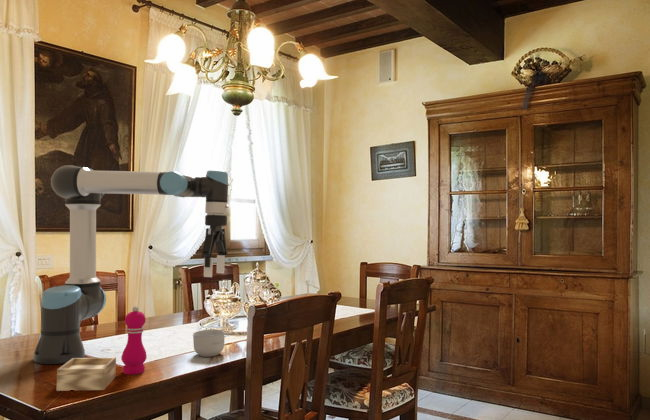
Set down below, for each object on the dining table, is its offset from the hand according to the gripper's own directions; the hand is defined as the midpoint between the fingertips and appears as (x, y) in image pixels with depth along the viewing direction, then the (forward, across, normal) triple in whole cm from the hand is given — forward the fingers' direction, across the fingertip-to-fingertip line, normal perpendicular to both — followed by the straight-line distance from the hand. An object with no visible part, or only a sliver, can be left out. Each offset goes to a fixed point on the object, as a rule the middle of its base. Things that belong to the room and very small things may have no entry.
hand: (214, 275), depth 187 cm
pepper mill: (+28, -25, +16) cm, 41 cm away
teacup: (+28, +1, +1) cm, 28 cm away
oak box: (+28, -39, +23) cm, 53 cm away
